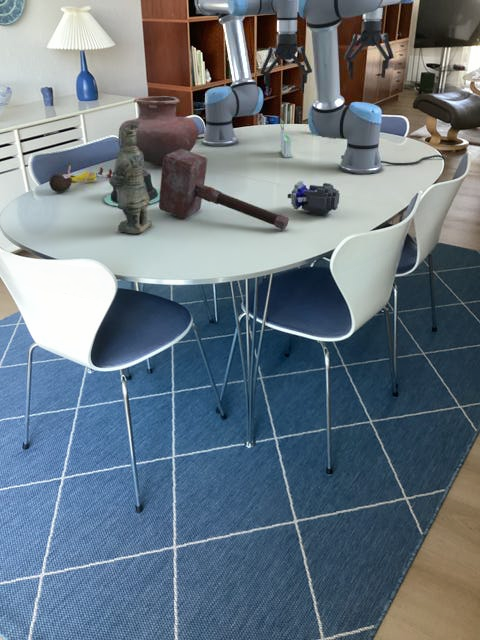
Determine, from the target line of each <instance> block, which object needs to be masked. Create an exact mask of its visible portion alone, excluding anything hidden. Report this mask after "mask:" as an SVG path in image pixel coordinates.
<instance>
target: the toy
mask: <svg viewBox="0 0 480 640" xmlns="http://www.w3.org/2000/svg"><path fill="white" fill-rule="evenodd" d="M293 187H294V188H293V189H292V191H291V193H288V194H287V199H291V200H290V201H291V202H290V203H291V206H292V207H293V210H298V209H299V208H301V210H303V211H306V212H307V214H310V215H311V214H312V215H318V216H326V215H328V213H330V212H331V211H336V210H337V209H338V205H339V204H340V194H341V193H340V190H338V189H337V188H335V187H334V184H332V183H328V182H324V183H322V185H315V184H310V185H309V186H308V187H309V188H308V187H307V185H306V184H305V183H304V181H301V180H299V181H298V182H296V183H295V184H294V186H293Z"/></svg>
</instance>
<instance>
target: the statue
mask: <svg viewBox="0 0 480 640" xmlns="http://www.w3.org/2000/svg"><path fill="white" fill-rule="evenodd" d="M138 127H139V123H138V122H137V121H133V122H131V123H128V124H127V125H126V126H125V127H124V128H123V129H121V130H120V133H119V132H118V139H117V141H118V146H119V152H118V154H117V156H116V160H115V164H114V169H113V172H114V175H113V176H112V175H111V178H108V179H109V180H108V183H109V184H110V186H111V187H112V188H113V187H114V188H115V189H116V192H117V202H118V206H117V209H119V210H122V213H123V214H124V215H125V218H126V219H125V220H122V221H120V222H119V224H118V225H117V231H118V232H121V233H126V234H134V235H136V234H142V233H143V232H145V231H146V230H147V229H148V228H150V227H151V226H152V225H153V223H152V220H150V219H148V216H147V214H148V213H147V212H148V211H147V209H148V206H149V205H150V197H149V195H148V192H147V188H146V184H145V182H144V178H143V169H144V165H145V161H144V156H143V153H142V151H141V150H139V149H138V147H137V146H136V143H137V138H136V131H137V130H138Z"/></svg>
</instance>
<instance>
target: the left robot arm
mask: <svg viewBox="0 0 480 640" xmlns="http://www.w3.org/2000/svg"><path fill="white" fill-rule="evenodd" d="M194 6H195V8H196V10H197V11H198V12H199V13H200V14H201V15H204V16H207V17H217V18H218V22H219V24H221V26H222V28H223V32H224V38H225V45H226V49H227V50H226V51H227V57H228V62H229V68H230V73H231V74H230V75H231V79H232V83H231V84H230V85H229V86H228V85H224V86H216V87H212V88H210V89H208V90H207V91H206V92H205V94H204V96H205V97H204V106H205V108H204V109H205V122H206V123H205V129H204V135H203V136H198V138H197V140H202V142H203V143H202V144H203V145H205V146H209V147H228V146H233V145H235V144H236V143H237V136H236V134H235V130H234V127H233V118H237V117H247V116H248V117H249V116H253V115H257V114H259V113H260V112H261V110H262V107H263V104H264V93H263V90H262V88H261V87H259V86H257V82H256V81H255V79H253V78H252V72H251V66H250V61H249V54H248V48H247V42H246V37H245V30H244V23H243V21H244V19H245V18H246V16H264V15H265V16H267V15H268V16H269V15H276V32H277V34H276V47H271V46H269V47H268V49H267V55H266V57H265V58H264V62H263V63H262V65H261V67H260V70H259V73H260V75H263V76H264V85H266V94H268V95H270V94H271V75H270V73H271V72H272V71H273V69H275V67H276V66H277V64H278V63H279V61H280V60H282V61H292V60H293V61H294V62H295V64H296V65H297V67H298V68H299V69H300V71H301V72H302V73H301V75H300V80H301V81H300V92H301V94H304V93H305V84H307V83H308V74H310V73H312V72H313V69H312V67H311V65H310V62H309V59H308V57H307V54H306V48H305V46H299V47H298V46H297V40H298V39H297V37H298V35H297V33H296V32H298V0H194ZM297 52H298V53H299V54H300V56H301V58H302V60H303V62H304V65H305V67H306V68H305V67H304V66H303V64H302V63H301V62H300V60H299V59H298V58H297V57H298V56H296V53H297ZM274 53H276V56H275V58H274V59H273V61H272V62H271V63H270V64H269V62H270V60H271V58H272V55H273V54H274ZM268 64H269V66H268Z"/></svg>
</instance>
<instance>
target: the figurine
mask: <svg viewBox="0 0 480 640" xmlns="http://www.w3.org/2000/svg"><path fill="white" fill-rule="evenodd" d="M71 169H72V167H71V164H70V165H69V166H68V169H67V174H66V173H63V174H61V173H59V172H56V173H53V174H52V175H51V176H50V177H49V181H48V182H49V187H50V189H51V190H52V191H54V192H56V193H64V192H67V191H68V190H69V189H70V188H71V186H72V184H85V183H86V182H92V183H93V182H96V180H95V179H98V178H99V179H110V178H111V176H112V173H113V170H112V168H110V169H108V173H107V174H103V172H104V168H103V167H102V166H101V167H100V168H99V171H98V172H96V171H95V170H94V169H91V170H89V171H85V172H83V173H80V174H76V175H73V174H72V175H71Z"/></svg>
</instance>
